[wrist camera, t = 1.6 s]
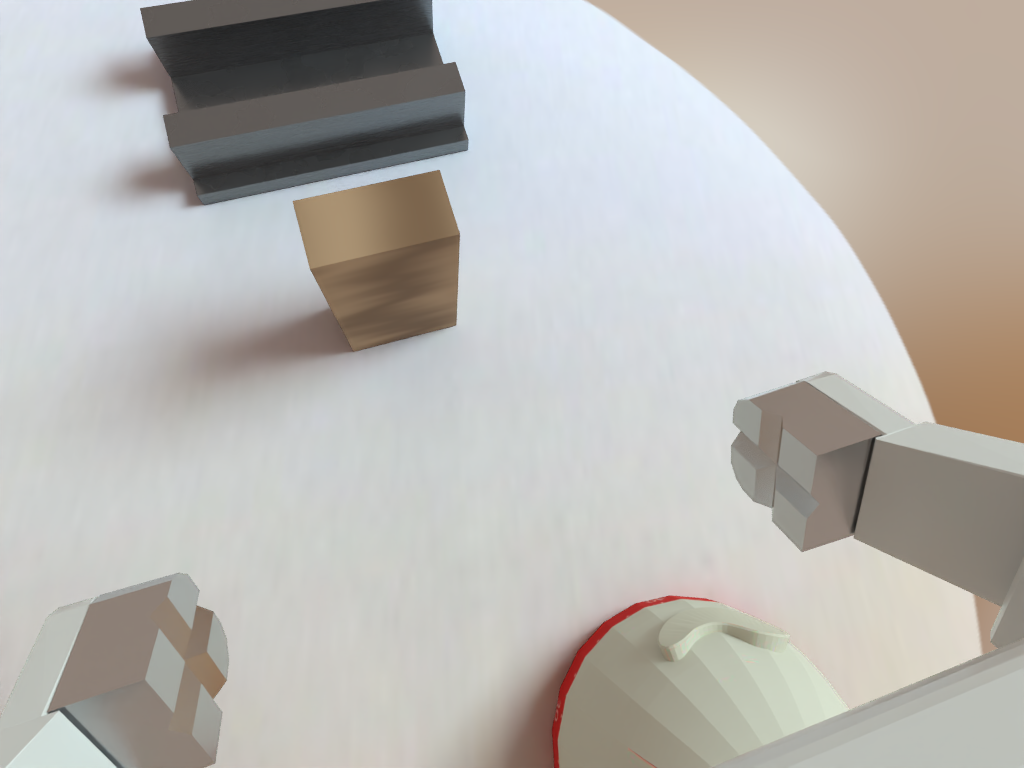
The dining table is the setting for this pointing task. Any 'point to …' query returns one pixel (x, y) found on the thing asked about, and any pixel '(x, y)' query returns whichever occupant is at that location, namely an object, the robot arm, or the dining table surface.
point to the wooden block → (385, 257)
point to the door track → (303, 90)
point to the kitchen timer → (684, 689)
